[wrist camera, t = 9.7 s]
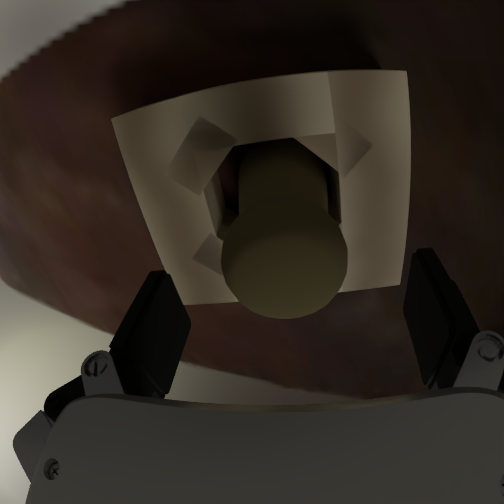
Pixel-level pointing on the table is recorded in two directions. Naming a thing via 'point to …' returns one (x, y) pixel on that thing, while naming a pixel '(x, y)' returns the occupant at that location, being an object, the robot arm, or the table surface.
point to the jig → (264, 129)
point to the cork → (283, 233)
